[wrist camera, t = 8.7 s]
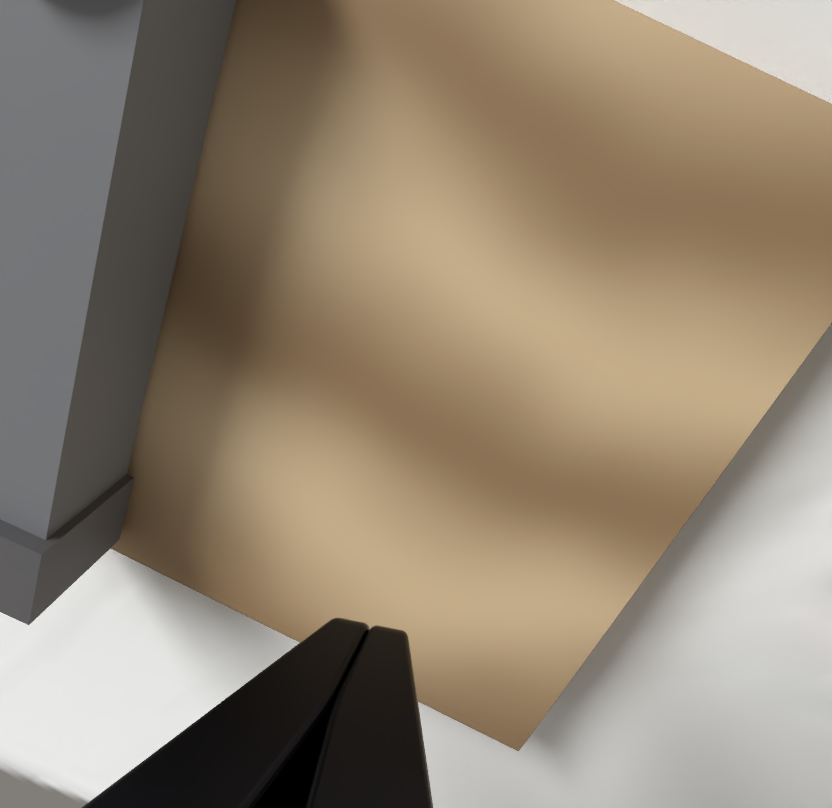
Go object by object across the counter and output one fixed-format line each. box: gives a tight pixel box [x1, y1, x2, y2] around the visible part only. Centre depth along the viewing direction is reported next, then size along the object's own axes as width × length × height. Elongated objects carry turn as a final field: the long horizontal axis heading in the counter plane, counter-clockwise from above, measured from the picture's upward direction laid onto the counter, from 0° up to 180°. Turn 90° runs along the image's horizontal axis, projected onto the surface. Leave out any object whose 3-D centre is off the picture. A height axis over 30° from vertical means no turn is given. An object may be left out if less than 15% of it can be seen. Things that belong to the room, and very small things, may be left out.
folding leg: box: [0, 0, 236, 625], centre depth 14 cm, size 15×3×4 cm, turn 159°
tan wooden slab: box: [111, 0, 832, 751], centre depth 15 cm, size 16×18×5 cm
